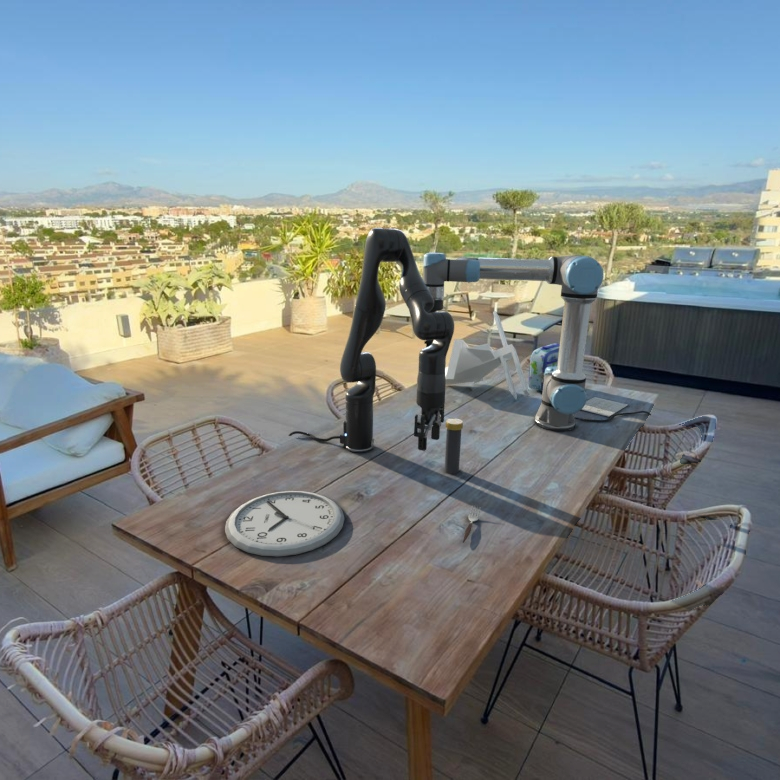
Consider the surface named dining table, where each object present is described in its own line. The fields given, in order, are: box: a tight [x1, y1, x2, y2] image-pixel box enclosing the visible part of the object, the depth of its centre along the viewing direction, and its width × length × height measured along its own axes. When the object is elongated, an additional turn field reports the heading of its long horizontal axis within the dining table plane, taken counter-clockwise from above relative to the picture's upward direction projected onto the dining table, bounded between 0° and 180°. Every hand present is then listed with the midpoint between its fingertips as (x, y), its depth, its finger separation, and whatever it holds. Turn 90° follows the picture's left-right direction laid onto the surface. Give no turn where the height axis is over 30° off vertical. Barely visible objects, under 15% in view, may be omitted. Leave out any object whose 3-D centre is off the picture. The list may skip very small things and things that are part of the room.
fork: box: [462, 505, 481, 543], centre depth 133 cm, size 3×16×2 cm, turn 160°
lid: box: [445, 418, 464, 431], centre depth 160 cm, size 5×5×2 cm
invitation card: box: [580, 396, 629, 418], centre depth 226 cm, size 21×1×15 cm
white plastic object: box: [445, 310, 531, 400], centre depth 245 cm, size 37×45×31 cm
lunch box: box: [528, 343, 560, 392], centre depth 249 cm, size 26×11×21 cm, turn 134°
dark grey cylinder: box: [444, 428, 462, 475], centre depth 162 cm, size 4×4×16 cm
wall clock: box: [224, 490, 345, 557], centre depth 134 cm, size 30×2×30 cm
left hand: (428, 444), depth 143 cm, fingers open, 8 cm apart
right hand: (430, 357), depth 190 cm, fingers open, 13 cm apart
